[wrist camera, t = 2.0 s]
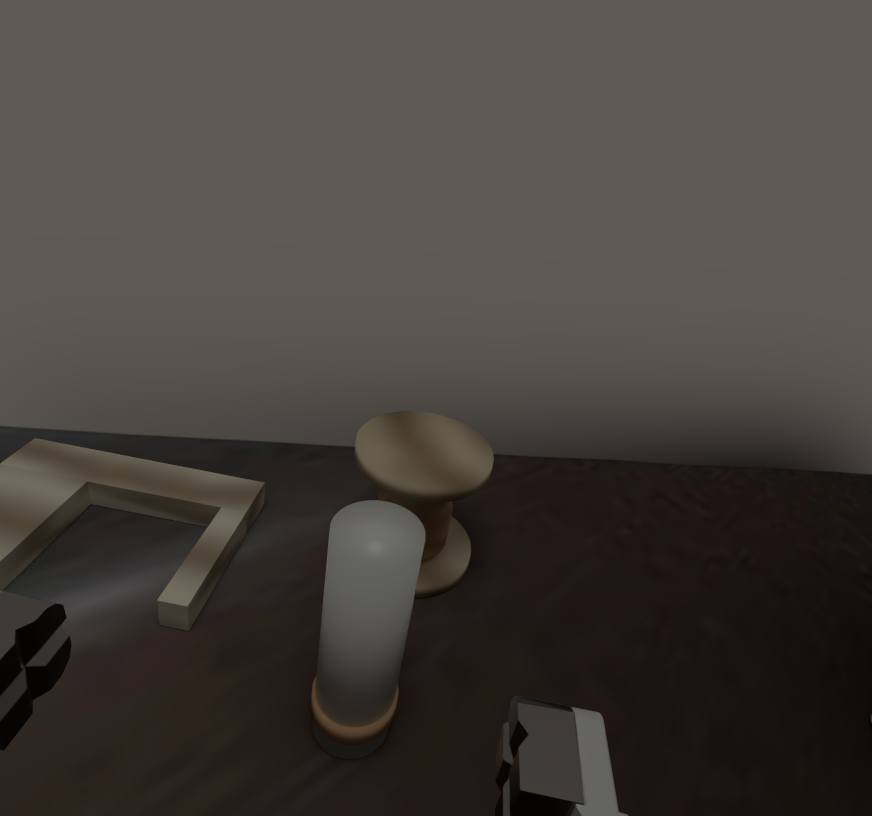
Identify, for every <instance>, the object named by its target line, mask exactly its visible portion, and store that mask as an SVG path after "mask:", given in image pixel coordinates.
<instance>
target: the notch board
mask: <svg viewBox="0 0 872 816" xmlns="http://www.w3.org/2000/svg"><path fill="white" fill-rule="evenodd" d="M264 492H265V483H263V482H258V481H253V480H248V479H242V478H237V477H232V476H227V475H222V474H217V473H211V472H206V471H201V470H196V469H191V468H186V467H180V466H175V465H170V464H165V463H160V462H155V461H149V460H144V459H139V458H134V457H129V456H124V455H118V454H113V453H108V452H103V451H98V450H93V449H87V448H82V447H77V446H72V445H67V444H62V443H56V442H51V441H46V440H41V439H36V438H35V439H33V440H32V441H31V442H29V443H28V444H27V445H25V446H24V447H22V448H21V449H20V450H18V451H17V452H16V453H14V454H13V455H11V456H10V457H9V458H7V459H6V460H5V461H3V462H2V463H0V591H3V590H4V589H5V588H6V587H7V586H8V585H9V584H10V583H11V582H12V581H13V580H14V579H15V578H16V577H17V576H18V575H19V574H20V573H21V572H22V571H23V570H24V569H25V568H26V567H27V566H28V565H29V564H30V563H31V562H32V561H33V560H34V559H35V558H36V557H38V556H39V555H40V554H41V553H42V552H43V551H44V550H45V549H46V548H47V547H48V546H49V545H50V544H51V543H52V542H53V541H54V540H55V539H56V538H57V537H58V536H59V535H60V534H61V533H62V532H63V531H64V530H65V529H66V528H67V527H68V526H69V525H70V524H71V523H72V522H73V521H74V520H75V519H76V518H77V517H78V516H79V515H80V514H81V513H82V512H83V511H84V510H85V509H86V508H87V507H88V506H89V505H90V504H93V505H98V506H103V507H108V508H113V509H118V510H124V511H129V512H134V513H139V514H144V515H149V516H154V517H159V518H165V519H170V520H175V521H180V522H185V523H190V524H195V525H200V526H205V527H208V528H207V529H206V530H205V532H204V533H203V535H202V536H201V538H200V539H199V541H198V542H197V543H196V545H195V546H194V548H193V549H192V551H191V552H190V554H189V555H188V556H187V558H186V559H185V561H184V562H183V564H182V565H181V567H180V568H179V569H178V571H177V572H176V574H175V575H174V577H173V578H172V580H171V581H170V582H169V584H168V585H167V587H166V588H165V590H164V591H163V593H162V594H161V595H160V597H159V598H158V600H157V605H158V615H159V625H162V626H167V627H172V628H177V629H182V630H187V631H189V630H190V629H191V627H192V625H193V623H194V622H195V620H196V618H197V617H198V615H199V613H200V612H201V610H202V608H203V607H204V605H205V603H206V602H207V600H208V598H209V596H210V595H211V593H212V591H213V590H214V588H215V586H216V585H217V583H218V581H219V580H220V578H221V576H222V575H223V573H224V571H225V569H226V568H227V566H228V564H229V563H230V561H231V559H232V558H233V556H234V554H235V553H236V551H237V549H238V548H239V546H240V544H241V542H242V541H243V539H244V537H245V536H246V534H247V532H248V531H249V529H250V527H251V526H252V524H253V522H254V521H255V519H256V517H257V516H258V514H259V512H260V510H261V509H262V507H263V505H264Z"/></svg>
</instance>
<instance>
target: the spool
mask: <svg viewBox="0 0 872 816" xmlns="http://www.w3.org/2000/svg"><path fill="white" fill-rule="evenodd" d="M354 456H355V462H356V464H357V467H358V468H359V470H360V472H361V473H362V474H363V475H364V476H365V477H366V478H367V479H368V480H369V481H370V482H372V483H373V484H374V485H376V486H377V487H379V488H381V490H380V492H379V495H378V501H386V502H391V503H394V504H397V505H400V506H402V507H404V508H406V509H408V510H409V511H411V512H412V513H413V514H415V515H416V516H417V517H418V519H419V520H420V521H421V523H422V524H423V526H424V529H425V535H426V537H425V544H424V549H423V554H422V559H421V564H420V569H419V575H418V580H417V585H416V590H415V595H414V598H426V597H432V596H435V595H439V594H441V593H444V592H446V591H448V590H449V589H451V588H453V587H454V586H455V585H457V584H458V583H459V582H460V580H461V579H462V578H463V576H464V575H465V573H466V570H467V568H468V564H469V559H470V555H471V544H470V540H469V537H468V535H467V533H466V531H465V530H464V528H463V527H462V525H461V524H460V523H459V522H458V521H457V520H456V519H454V518H453V517H452V511H453V502H452V501H456V500H460V499H464V498H467V497H469V496H471V495H474V494H475V493H477V492H478V491H480V490H481V489H482V488H483V487H484V486H485V485H486V483H487V482H488V480H489V478H490V474H491V470H492V466H493V461H494V457H493V452H492V449H491V447H490V445H489V444H488V442H487V441H486V440H485V439H484V438H483V437H482V436H481V435H480V434H479V433H478V432H477V431H475V430H474V429H472V428H471V427H469V426H467V425H466V424H464V423H461V422H459V421H457V420H454V419H452V418H449V417H446V416H442V415H438V414H434V413H427V412H419V411H418V412H417V411H401V412H393V413H388V414H384V415H381V416H378V417H375V418H373V419H372V420H370V421H368V422H367V423H365V424H364V425H363V426H362V427H361V428H360V430H359V432H358V434H357V437H356V444H355V454H354Z"/></svg>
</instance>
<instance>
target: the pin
mask: <svg viewBox="0 0 872 816" xmlns="http://www.w3.org/2000/svg"><path fill="white" fill-rule="evenodd" d="M425 537H426V535H425V529H424V526H423V524H422V523H421V521H420V520H419V519H418V517H417V516H416V515H415V514H413V513H412V512H411V511H409V510H408V509H406V508H404V507H402V506H400V505H397V504H394V503H391V502H386V501H378V500H369V501H361V502H357V503H353V504H351V505H348V506H346V507H344V508H343V509H341V510H340V511H339V512H338V513H337V514H336V515H335V516H334V518H333V519H332V521H331V524H330V532H329V543H328V554H327V565H326V576H325V587H324V598H323V609H322V621H321V632H320V643H319V654H318V665H317V675H316V677H315V679H314V682H313V687H312V698H311V714H312V718H313V720H312V727H313V733H314V736H315V738H316V740H317V742H318V743H319V745H320V746H321V747H322V748H323V749H324V750H325V751H326V752H328V753H329V754H331V755H333V756H335V757H338V758H341V759H358V758H362V757H365V756H367V755H369V754H371V753H373V752H374V751H375V750H377V749H378V748H379V747H380V745H381V744H382V743H383V741H384V740H385V738H386V736H387V733H388V730H389V726H390V724H391V722H392V720H393V718H394V714H395V709H396V704H397V699H398V684H397V683H398V678H399V673H400V668H401V663H402V657H403V652H404V647H405V642H406V637H407V632H408V626H409V621H410V616H411V611H412V606H413V601H414V595H415V590H416V585H417V580H418V575H419V569H420V564H421V559H422V554H423V549H424V544H425Z"/></svg>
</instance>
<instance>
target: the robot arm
mask: <svg viewBox="0 0 872 816" xmlns="http://www.w3.org/2000/svg"><path fill="white" fill-rule="evenodd" d="M65 619H66V614H65V610H64V606H63V605H61V604H57V603H52V602H48V601H43V600H39V599H35V598H30V597H26V596H21V595H17V594H12V593H8V592H4V591H0V750H5V748H6V747H7V746H8V745H9V743H10V742H11V741H12V739H13V738H14V737H15V736H16V734H17V733H18V732H19V730H20V729H21V728H22V727H23V725H24V724H25V723H26V721H27V720H28V719H29V718H30V716H31V715H32V714H33V700H34V699H35V698H37V697H39V696H41V695H43V694H44V693H46V692H48V691H50V690H51V689H52V688H53V686H54V685H55V684H56V682H57V681H58V679H59V678H60V677H61V675H62V674H63V671H64V669H65V667H66V665H67V662H68V660H69V658H70V652H71V640H70V635H69V634H68V633H67V632H66V631H65V630H64V629H63V628H62V627H61V626H60V625H61V624H62V623H63V622H64V620H65ZM870 719H871V723H872V714H871V718H870ZM495 782H496V783H497V785H498V787H499V789H500V790H501V794H500V797H499V799H498V802H497V805H496V808H495V816H628V815H627V814H623V813H619V811H618V805H617V799H616V792H615V786H614V780H613V774H612V768H611V762H610V756H609V750H608V744H607V738H606V732H605V725H604V720H603V718H602V716H601V714H600V713H598V712H595V711H589V710H584V709H578V708H573V707H570V706H568V705H562V704H557V703H552V702H546V701H541V700H536V699H530V698H525V697H520V696H515V697H514V698H513V699H512V702H511V705H510V707H509V721H508V722H506V723H505V724H503V727H502V731H501V734H500V737H499V743H498V749H497V757H496V777H495Z"/></svg>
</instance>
